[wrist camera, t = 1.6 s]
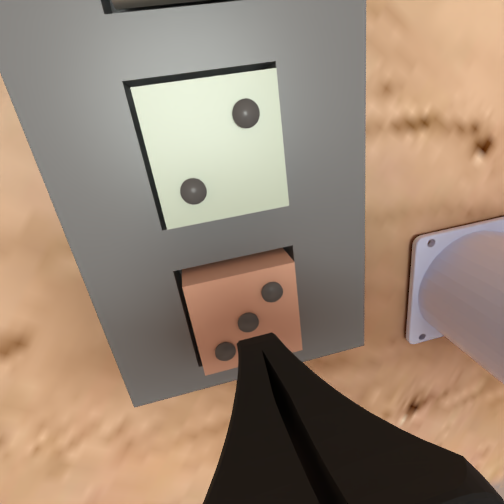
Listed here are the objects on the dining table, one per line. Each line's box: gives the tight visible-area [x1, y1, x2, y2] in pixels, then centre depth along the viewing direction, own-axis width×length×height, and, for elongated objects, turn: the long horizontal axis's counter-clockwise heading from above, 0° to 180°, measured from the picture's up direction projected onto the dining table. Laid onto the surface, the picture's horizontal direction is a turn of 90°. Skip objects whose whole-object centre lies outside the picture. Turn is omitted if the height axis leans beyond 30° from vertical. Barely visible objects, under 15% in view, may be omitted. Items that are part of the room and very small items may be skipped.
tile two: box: [130, 68, 289, 230], centre depth 12 cm, size 5×5×2 cm
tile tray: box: [0, 0, 366, 407], centre depth 13 cm, size 12×22×4 cm, turn 8°
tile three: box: [182, 248, 303, 376], centre depth 15 cm, size 5×5×2 cm
